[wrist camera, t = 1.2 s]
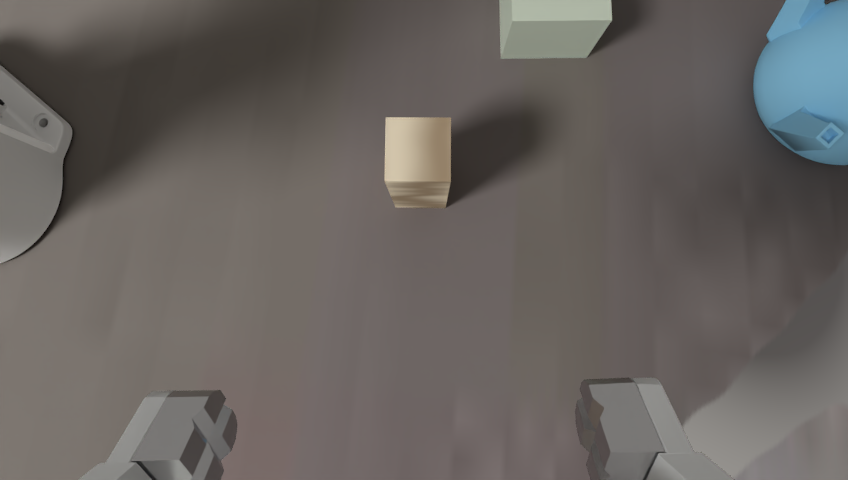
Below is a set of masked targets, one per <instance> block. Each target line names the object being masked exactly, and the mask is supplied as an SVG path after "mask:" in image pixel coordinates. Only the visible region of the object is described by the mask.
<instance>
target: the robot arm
mask: <svg viewBox="0 0 848 480" xmlns="http://www.w3.org/2000/svg"><path fill="white" fill-rule="evenodd" d="M47 122H48V125H47V126H46V124H47ZM71 138H72V128H71V126H70V125H69V123H68V122H66V121H65V120H64V119H63V118H62V117H61V116H59V115H58V114H57V113H56V112H55V111H54V110H52V109H51V108H50V107H49V106H48V105H47V104H45V103H44V102H43V101H42V100H41V99H40V98H38V97H37V96H36V95H35V94H34V93H33V92H31V91H30V90H29V89H28V88H27V87H26V86H24V85H23V84H22V83H21V82H20V81H19V80H17V79H16V78H15V77H14V76H13V75H12V74H10V73H9V72H8V71H7V70H6V69H5V68H3V67H2V66H1V65H0V263H3V262H5V261H8V260H10V259H12V258H14V257H16V256H18V255H19V254H21V253H22V252H24V251H25V250H27V249H28V248H29V247H30V246H32V245H33V244H34V243H35V242H36V241H37V240H38V239H39V238H40V237H41V235H42V234H43V233H44V232H45V230H46V229H47V228H48V226H49V224H50V223H51V221H52V219H53V217H54V215H55V213H56V211H57V208H58V205H59V202H60V198H61V193H62V184H63V159H64V157H65V154H66V152H67V150H68V147H69V145H70V142H71ZM580 392H581V395H582V398H581V399H579V400H578V401H577V404H576V410H575V416H576V427H577V432H578V436H579V440H580V444H581V445H582V446H583V447H584V448H585V449H586V450H587V451H588V452H589V456H588V460H587V464H586V466H587V469H588V473H589V476H590V480H735V479H733V478H732V477H731V476H730V475H728V474H727V473H726V472H725V471H724V470H723V469H721V468H720V467H719V466H718V465H717V464H715V463H714V462H713V461H711V459H709V458H708V457H707V456H706V455H705V454H703V453H702V452H694V450H693V448H692V446H691V444H690V442H689V440H688V438H687V436H686V434H685V432H684V430H683V428H682V426H681V424H680V422H679V420H678V417H677V415H676V413H675V411H674V409H673V407H672V405H671V403H670V401H669V399H668V397H667V395H666V393H665V391H664V389H663V387H662V385H661V383H660V382H659V381H658V380H657V379H656V378H653V377H648V378H608V379H586V380H583V381H582V382H581V386H580ZM225 399H226V398H225V396H224V395H223V393H222V392H221V390H193V391H176V390H175V391H152V392H151V393H150V394H149V395H147V396H146V397H145V398H144V400H143V401H142V403H141V405H140V406H139V408H138V410H137V411H136V413H135V415H134V416H133V418H132V420H131V421H130V423H129V425H128V426H127V428H126V430H125V431H124V433H123V435H122V436H121V438H120V440H119V441H118V443H117V445H116V446H115V448H114V450H113V451H112V453H111V455H110V456H109V458H108V460H107V461H106V463H98V464H97V465H96V466H95V467H94V468H92V469H91V470H90V471H89V472H87V473H86V474H85V475H84V476H82V477H81V478H80V479H79V480H221V477H222V474H223V472H224V469H223V466H222V463H221V460H222V459H223V458H224V457H225V456H227V455H228V454H229V453H230V452H231V450H232V448H233V445H234V442H235V439H236V432H237V420H236V416H235V414H234V412H233V410H232V409H230V408H228V407H227V406H225V405H223V404H224V402H225Z"/></svg>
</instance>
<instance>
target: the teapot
mask: <svg viewBox="0 0 848 480" xmlns="http://www.w3.org/2000/svg"><path fill="white" fill-rule="evenodd" d="M824 1H825V0H786V2H785V3H784V5H783V7H782V9H781V10H780V12H779V14H778V16H777V17H776V19H775V21H774V23H773V24H772V26H771V28H770V30H769V31H768V33H767V35H766V36H767V38H768V40H769V42H768V44H767V45H766V46H765V48H764V49H763V51H762V53H761V55H760V57H759V59H758V62H757V65H756V68H755V73H754V82H753V92H754V100H755V105H756V108H757V111H758V114H759V116H760V118H761V120H762V122H763V124H764V125H765V127H766V128H767V129H768V131H769V132H770V133H771V134H772V135H773V136H774V137H775V138H776V139H777V140H778V141H779V142H780V143H781V144H782V145H784V146H785V147H787V148H788V149H790V150H791V151H793V152H795V153H796V154H798V155H800V156H802V157H804V158H807V159H810V160H812V161H815V162H819V163H824V164H832V165H848V0H838V1H834V2H831V3H829V4H826V5H825V3H824Z"/></svg>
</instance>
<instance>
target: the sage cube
mask: <svg viewBox="0 0 848 480" xmlns="http://www.w3.org/2000/svg"><path fill="white" fill-rule="evenodd" d="M499 3H500V45H501V59H508V58H587V56H588V55H589V53H590V52H591V50H592V49H593V47H594V46H595V45H596V43H597V42H598V40H599V39H600V37H601V36H602V34H603V33H604V31H605V30H606V28H607V27H608V25H609V24H610V23H611V21H612V8H611V0H499Z"/></svg>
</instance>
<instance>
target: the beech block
mask: <svg viewBox="0 0 848 480" xmlns="http://www.w3.org/2000/svg"><path fill="white" fill-rule="evenodd" d="M385 183H386V186H387V188H388V190H389V193H390V195H391V198H392V200H393V202H394V205H395V207H396V208H446V203H447V198H448V193H449V188H450V183H451V118H387V117H386V133H385Z"/></svg>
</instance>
